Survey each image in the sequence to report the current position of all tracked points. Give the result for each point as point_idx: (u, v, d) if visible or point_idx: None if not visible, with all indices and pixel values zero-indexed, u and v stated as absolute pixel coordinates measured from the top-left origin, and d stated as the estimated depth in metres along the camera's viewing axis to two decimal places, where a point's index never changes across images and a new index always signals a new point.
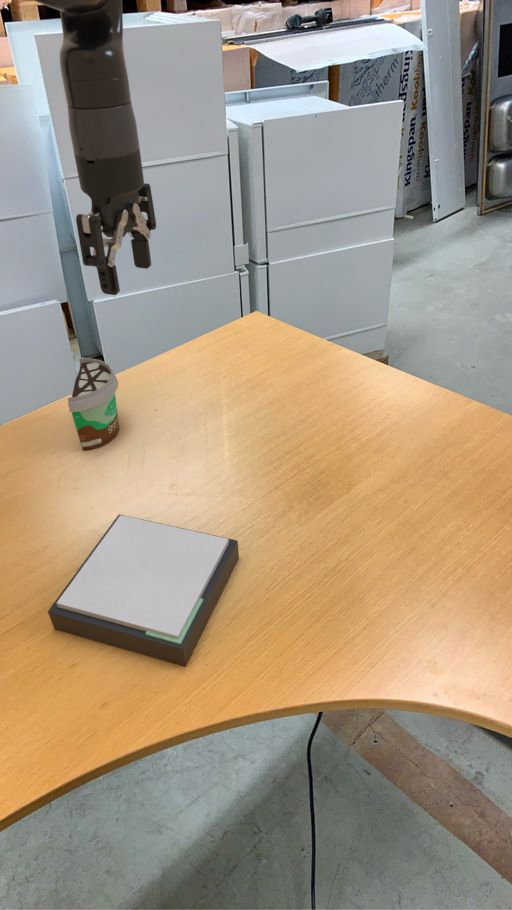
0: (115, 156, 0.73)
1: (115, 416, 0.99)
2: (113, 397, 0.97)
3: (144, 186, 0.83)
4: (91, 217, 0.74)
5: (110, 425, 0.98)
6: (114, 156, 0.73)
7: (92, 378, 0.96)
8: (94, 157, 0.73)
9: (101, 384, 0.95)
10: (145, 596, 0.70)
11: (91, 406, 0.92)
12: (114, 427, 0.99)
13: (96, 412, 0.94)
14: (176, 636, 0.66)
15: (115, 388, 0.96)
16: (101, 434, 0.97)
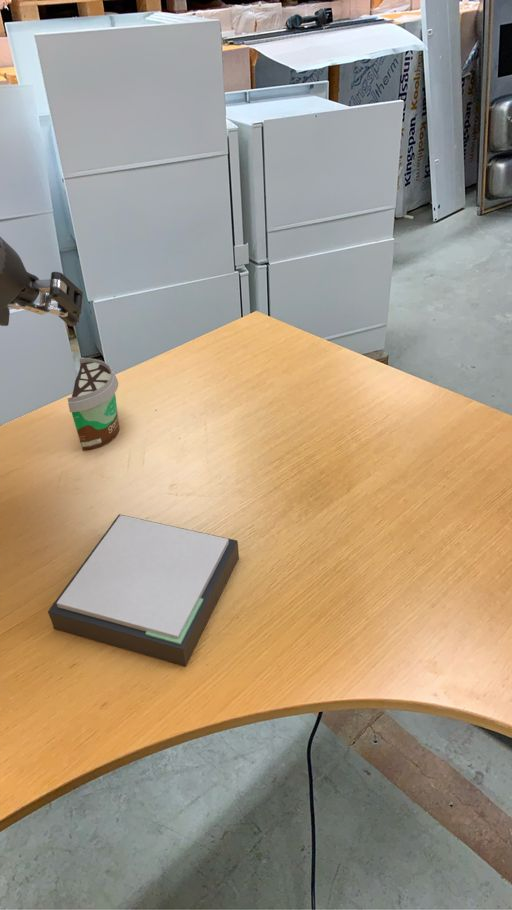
0: None
1: (115, 416, 0.99)
2: (113, 397, 0.97)
3: (49, 292, 0.67)
4: None
5: (110, 425, 0.98)
6: None
7: (92, 378, 0.96)
8: None
9: (101, 384, 0.95)
10: (145, 596, 0.70)
11: (91, 406, 0.92)
12: (114, 427, 0.99)
13: (96, 412, 0.94)
14: (176, 636, 0.66)
15: (115, 388, 0.96)
16: (101, 434, 0.97)
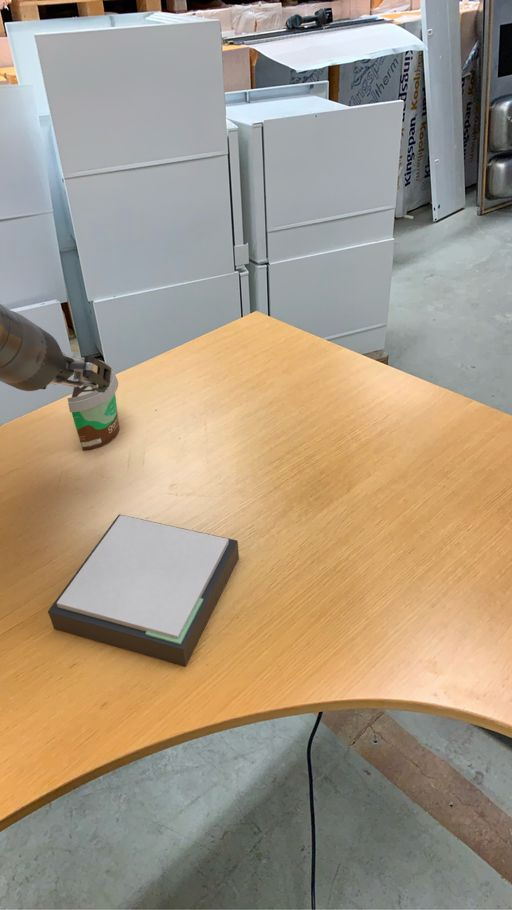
0: None
1: (115, 416, 0.99)
2: (113, 397, 0.97)
3: (83, 374, 0.78)
4: None
5: (110, 425, 0.98)
6: None
7: None
8: None
9: None
10: (145, 596, 0.70)
11: (91, 406, 0.92)
12: (114, 427, 0.99)
13: (96, 412, 0.94)
14: (176, 636, 0.66)
15: (115, 388, 0.96)
16: (101, 434, 0.97)
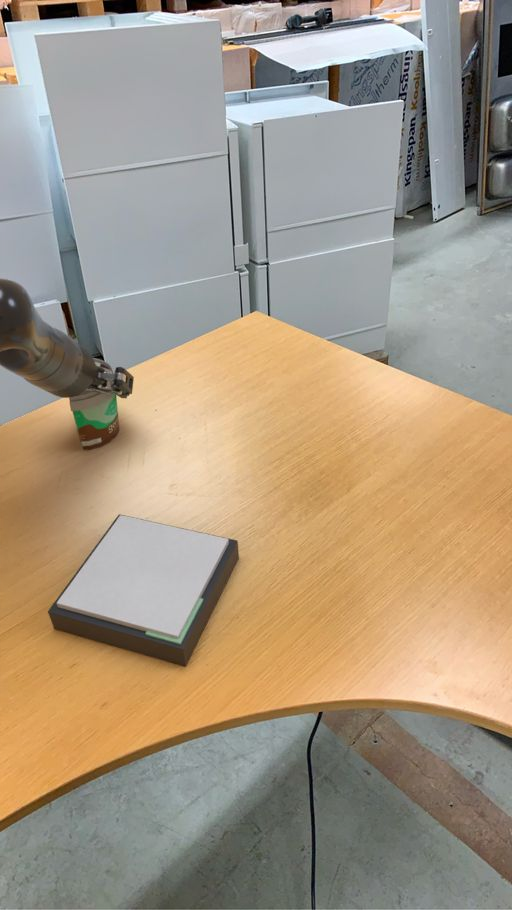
0: None
1: (115, 416, 0.99)
2: (114, 397, 0.97)
3: (114, 383, 0.88)
4: None
5: (111, 424, 0.98)
6: None
7: None
8: None
9: None
10: (145, 596, 0.70)
11: (92, 405, 0.93)
12: (114, 427, 0.99)
13: (97, 411, 0.94)
14: (176, 636, 0.66)
15: None
16: (101, 434, 0.97)
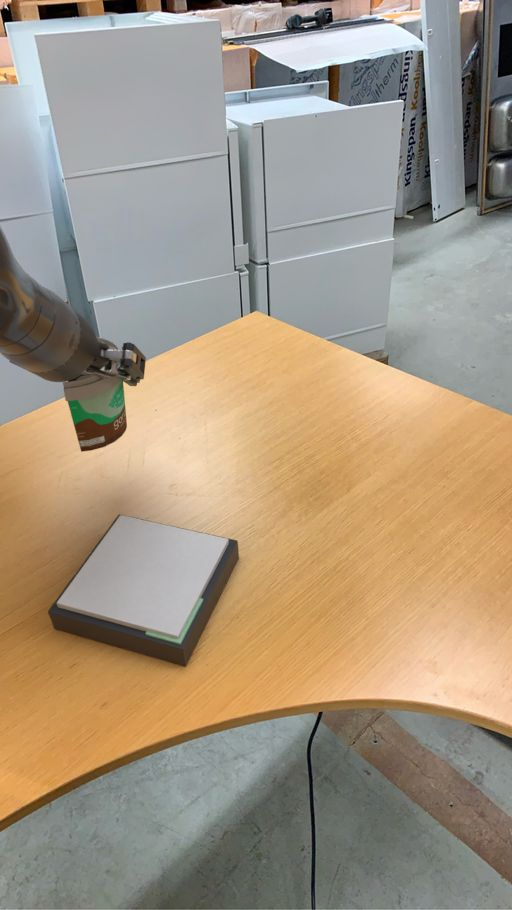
0: None
1: (122, 409, 0.79)
2: (121, 384, 0.77)
3: (121, 363, 0.68)
4: None
5: (116, 419, 0.78)
6: None
7: None
8: None
9: None
10: (145, 596, 0.70)
11: (93, 394, 0.72)
12: (121, 422, 0.79)
13: (99, 402, 0.74)
14: (176, 636, 0.66)
15: None
16: (104, 431, 0.77)
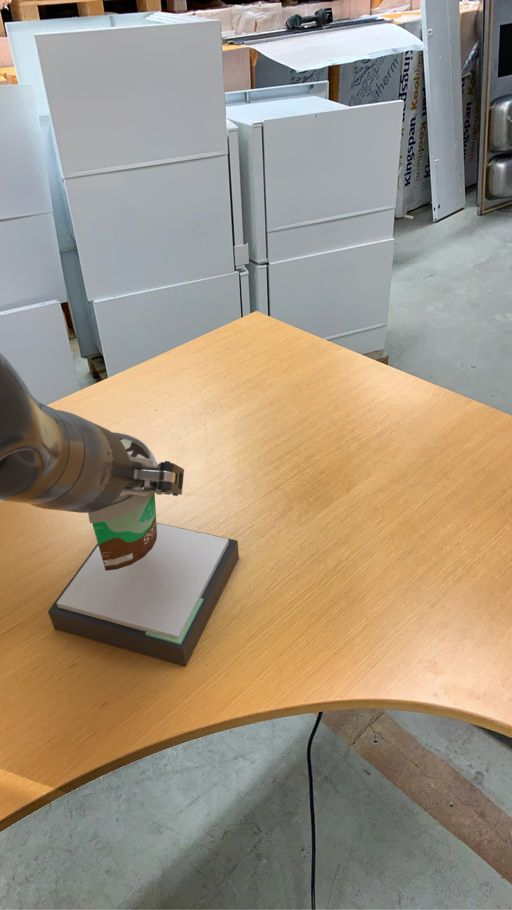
0: None
1: (153, 519, 0.67)
2: (152, 493, 0.66)
3: (158, 486, 0.57)
4: None
5: (147, 533, 0.66)
6: None
7: None
8: None
9: None
10: (145, 596, 0.70)
11: (122, 513, 0.61)
12: (151, 535, 0.68)
13: (129, 520, 0.63)
14: (176, 636, 0.66)
15: None
16: (133, 548, 0.66)
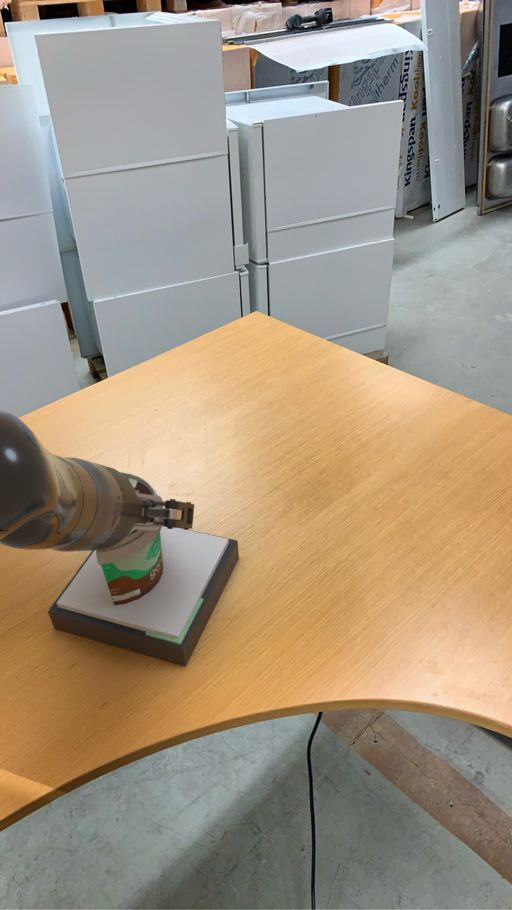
0: None
1: (159, 555, 0.71)
2: (158, 532, 0.69)
3: (164, 524, 0.59)
4: None
5: (153, 569, 0.70)
6: None
7: None
8: None
9: None
10: (145, 596, 0.70)
11: (129, 554, 0.64)
12: (158, 570, 0.71)
13: (135, 559, 0.66)
14: (176, 636, 0.66)
15: None
16: (140, 584, 0.69)
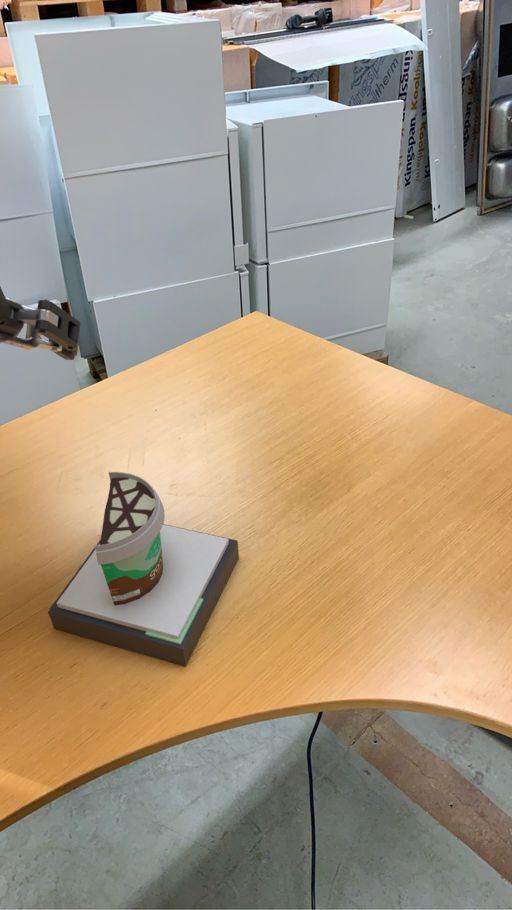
0: None
1: (159, 555, 0.71)
2: (158, 532, 0.69)
3: (35, 326, 0.53)
4: None
5: (153, 569, 0.70)
6: None
7: (128, 507, 0.68)
8: None
9: (142, 517, 0.67)
10: (145, 596, 0.70)
11: (129, 555, 0.64)
12: (158, 570, 0.71)
13: (135, 559, 0.66)
14: (176, 636, 0.66)
15: (161, 522, 0.67)
16: (140, 584, 0.69)
